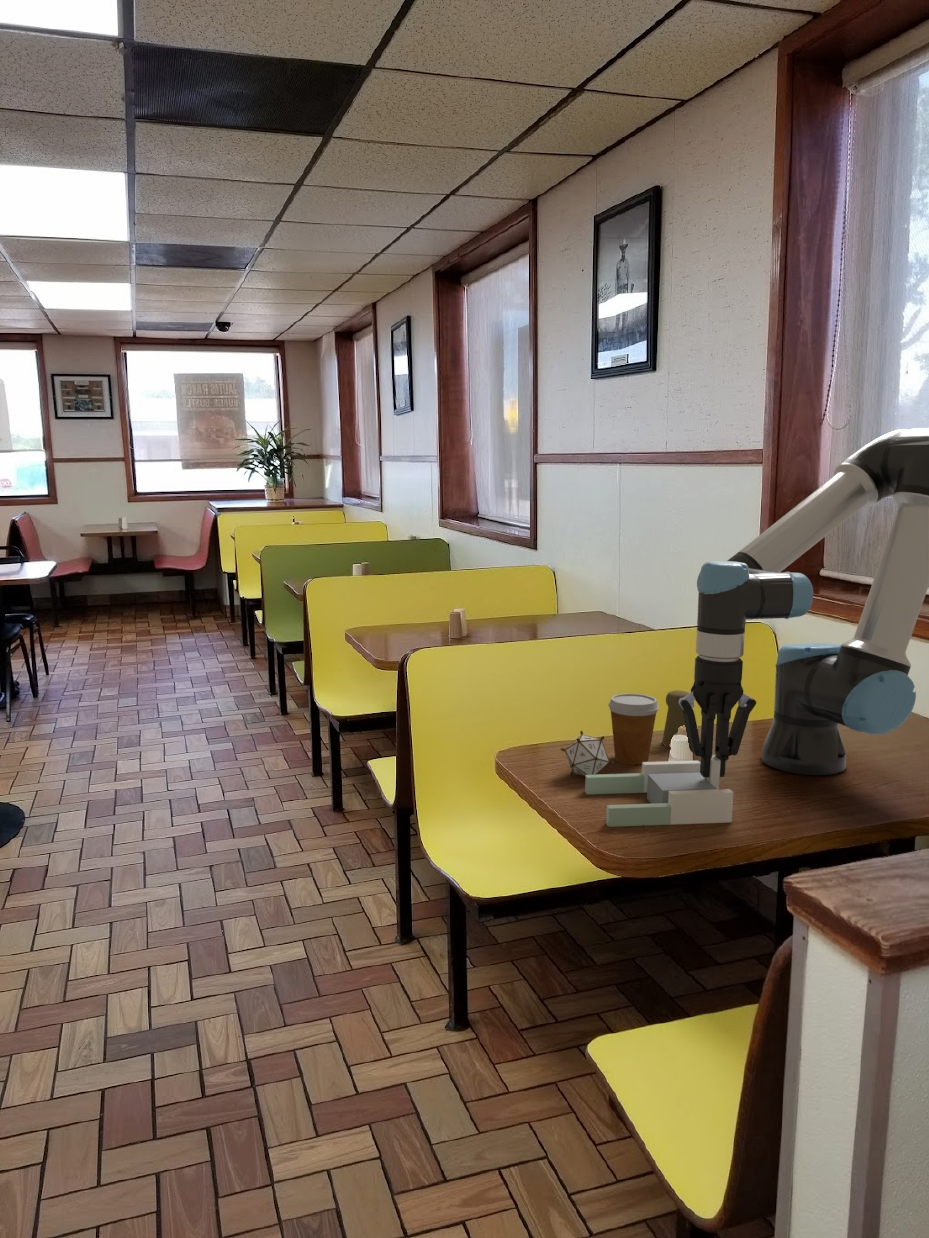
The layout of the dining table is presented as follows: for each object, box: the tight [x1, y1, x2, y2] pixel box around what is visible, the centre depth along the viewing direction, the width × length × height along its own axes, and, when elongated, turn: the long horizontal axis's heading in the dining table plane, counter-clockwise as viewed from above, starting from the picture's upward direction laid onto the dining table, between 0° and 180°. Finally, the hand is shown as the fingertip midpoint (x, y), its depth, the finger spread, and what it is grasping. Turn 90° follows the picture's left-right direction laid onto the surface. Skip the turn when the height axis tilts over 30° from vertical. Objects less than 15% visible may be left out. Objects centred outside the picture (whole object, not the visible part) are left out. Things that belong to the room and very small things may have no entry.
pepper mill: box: [661, 689, 690, 748], centre depth 188 cm, size 6×6×11 cm
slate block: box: [646, 773, 717, 804], centre depth 155 cm, size 9×8×4 cm
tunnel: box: [584, 760, 734, 828], centre depth 154 cm, size 20×16×5 cm
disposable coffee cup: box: [607, 693, 660, 766], centre depth 178 cm, size 10×10×12 cm
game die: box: [560, 730, 614, 777], centre depth 168 cm, size 9×8×10 cm
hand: (711, 795), depth 155 cm, fingers closed
